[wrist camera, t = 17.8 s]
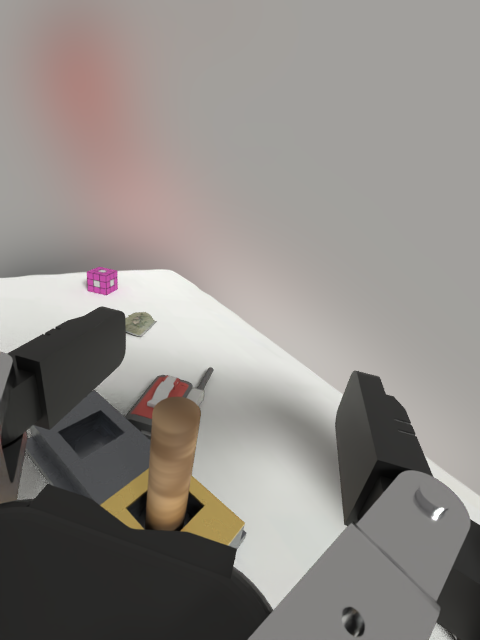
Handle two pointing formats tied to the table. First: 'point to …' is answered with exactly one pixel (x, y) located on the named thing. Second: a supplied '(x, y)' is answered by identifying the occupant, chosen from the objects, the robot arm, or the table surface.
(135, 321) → the topographic map
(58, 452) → the socket rail
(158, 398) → the walkie-talkie
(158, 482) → the walnut peg
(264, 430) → the table surface
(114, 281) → the puzzle toy
